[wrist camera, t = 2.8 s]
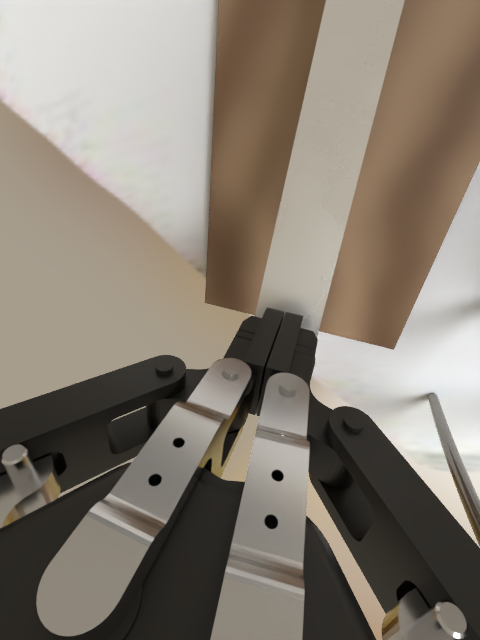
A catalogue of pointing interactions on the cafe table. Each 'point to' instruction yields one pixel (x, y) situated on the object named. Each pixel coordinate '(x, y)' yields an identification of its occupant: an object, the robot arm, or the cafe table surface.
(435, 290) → the cafe table surface
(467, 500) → the juicer
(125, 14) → the cafe table surface
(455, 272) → the cafe table surface
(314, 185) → the tong arm
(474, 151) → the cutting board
